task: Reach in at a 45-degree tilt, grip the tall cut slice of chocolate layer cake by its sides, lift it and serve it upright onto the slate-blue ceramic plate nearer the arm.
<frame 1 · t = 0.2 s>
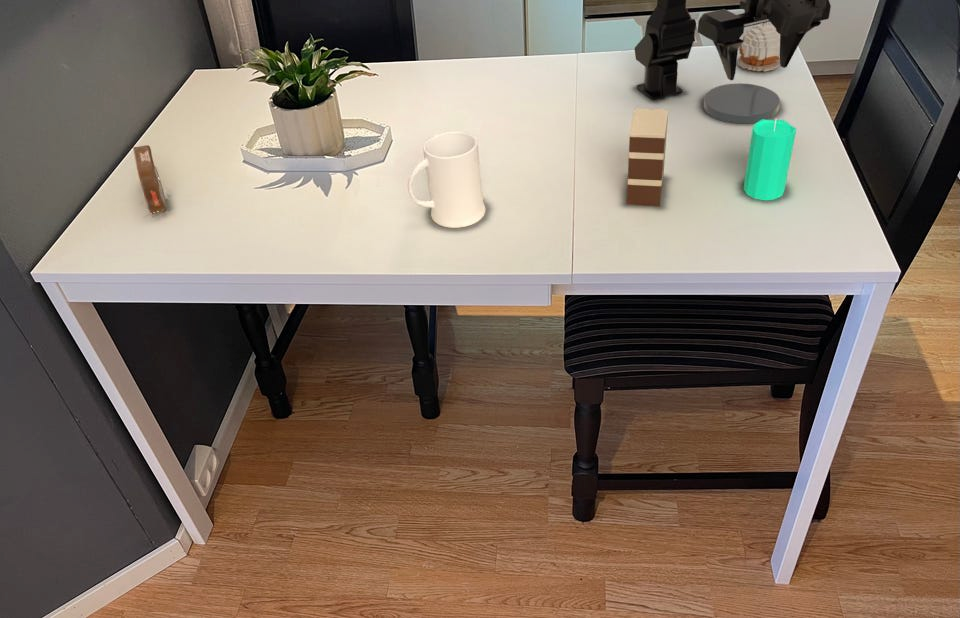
hand: (757, 73, 120), 14 cm above the table, tool pointing down, fingers open, 9 cm apart
mug: (448, 216, 123), on the table
plate: (740, 106, 142), on the table
candle: (763, 190, 121), on the table
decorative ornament: (758, 66, 155), on the table
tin: (159, 200, 134), on the table
cake slice: (645, 191, 124), on the table
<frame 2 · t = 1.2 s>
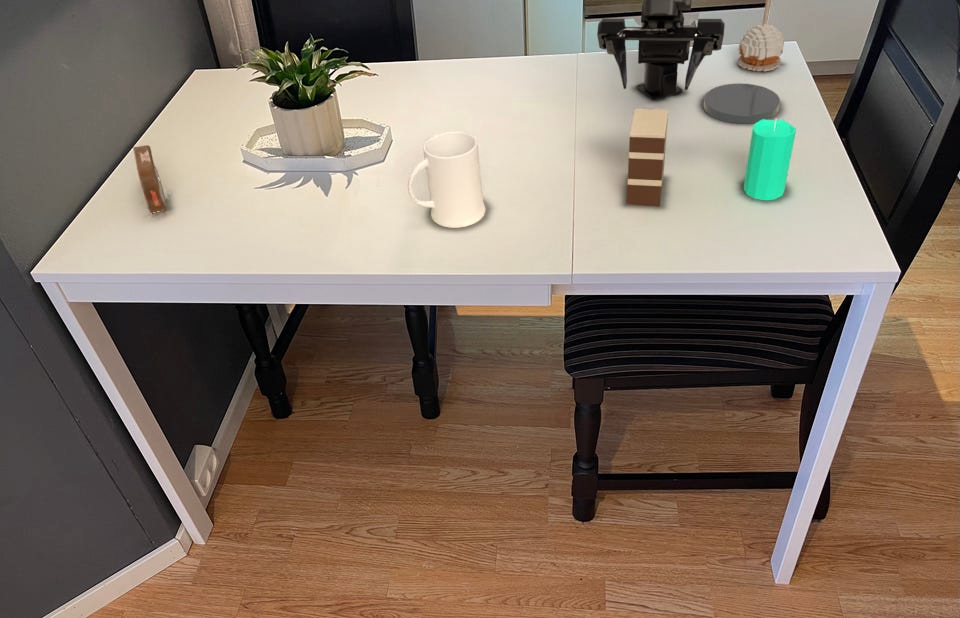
hand: (655, 88, 121), 13 cm above the table, tool tilted 45°, fingers open, 9 cm apart
nothing on the table moved.
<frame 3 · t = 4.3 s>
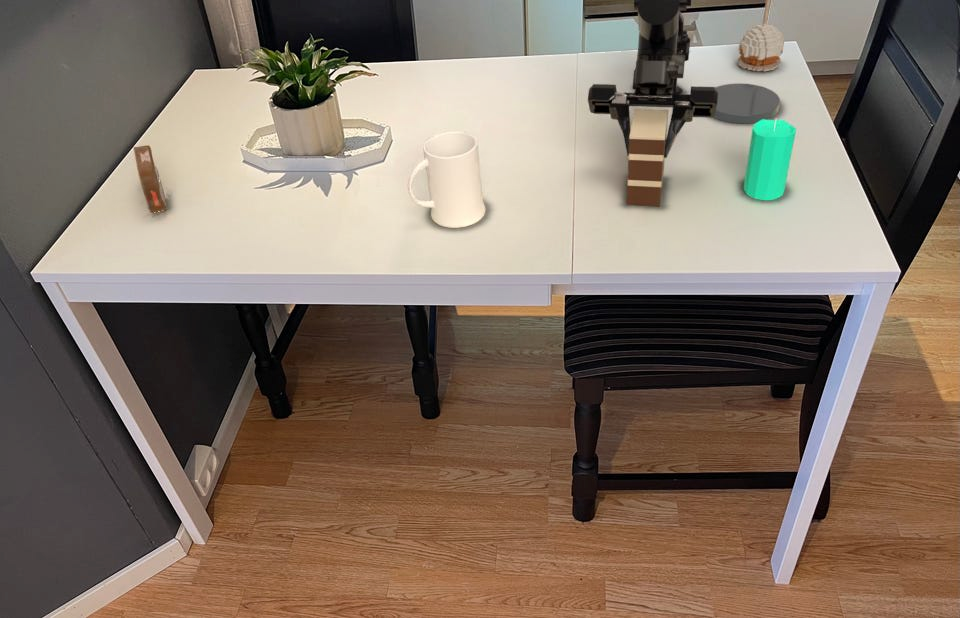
hand: (646, 156, 118), 7 cm above the table, tool tilted 45°, fingers closed on cake slice, 5 cm apart
cake slice: (645, 191, 123), on the table, touching gripper
everything else where it was.
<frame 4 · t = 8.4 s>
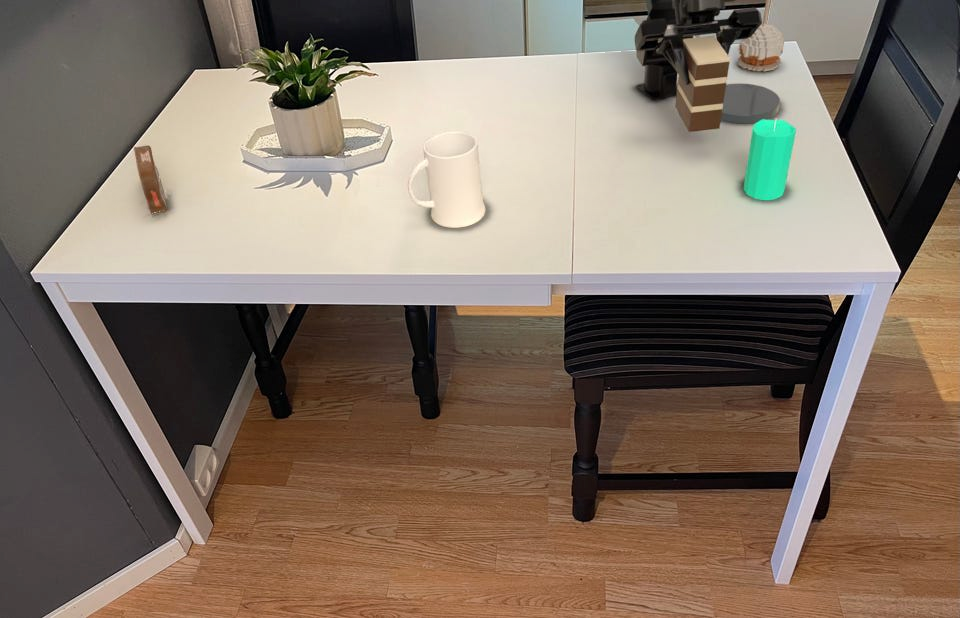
hand: (704, 82, 123), 12 cm above the table, tool tilted 45°, fingers closed on cake slice, 5 cm apart
cake slice: (696, 117, 129), point 5 cm above the table, touching gripper
everything else where it was.
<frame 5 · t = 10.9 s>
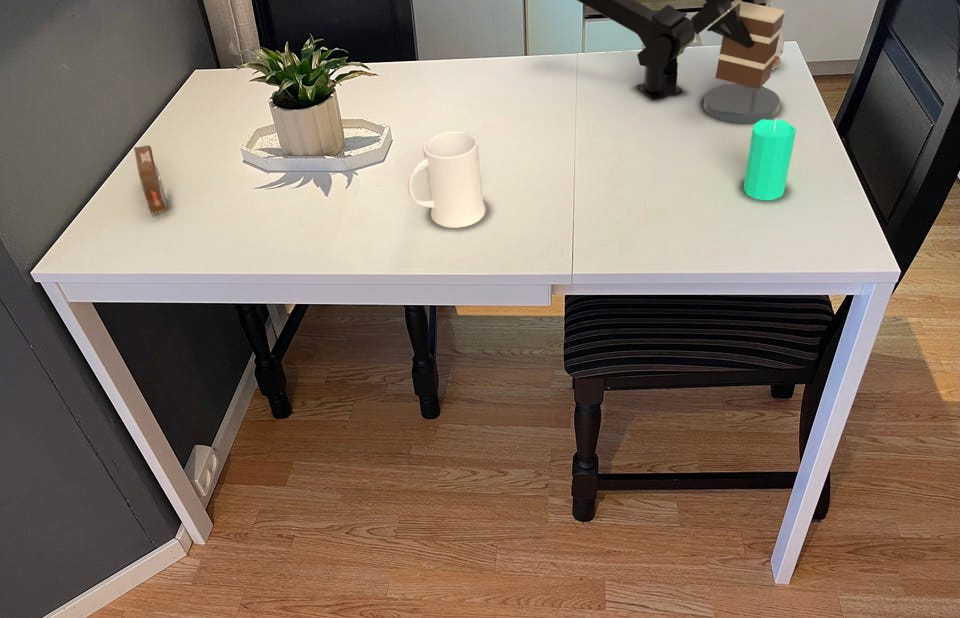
hand: (757, 40, 133), 12 cm above the table, tool tilted 45°, fingers closed on cake slice, 5 cm apart
cake slice: (742, 78, 139), point 5 cm above the table, touching gripper
everything else where it was.
when the fingers open (9 cm above the table, at t = 12.8 s): cake slice stays where it is, resting on plate.
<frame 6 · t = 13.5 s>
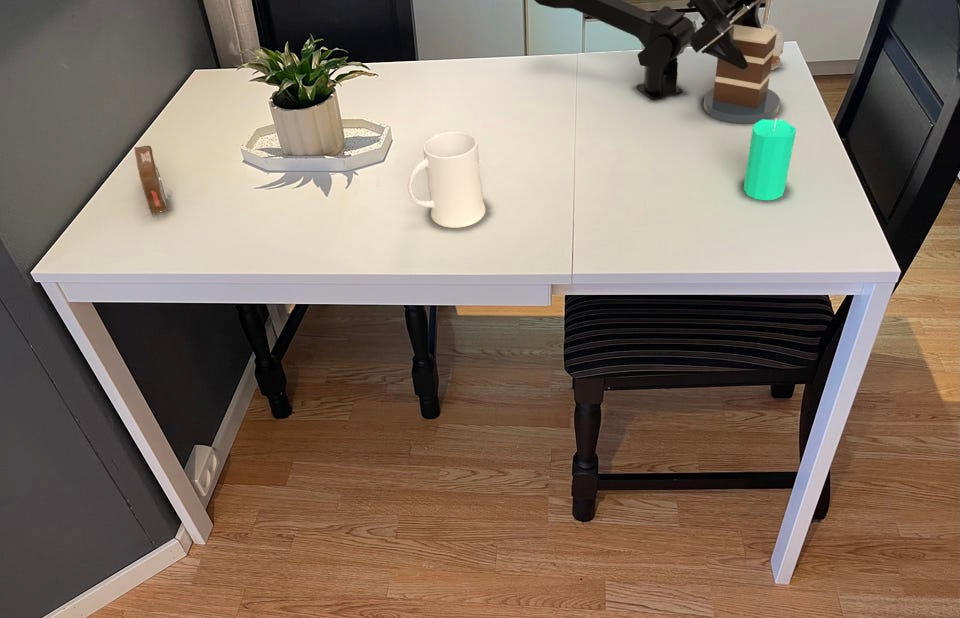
hand: (755, 57, 136), 9 cm above the table, tool tilted 45°, fingers open, 9 cm apart
cake slice: (739, 98, 142), point 2 cm above the table, touching plate
everything else where it was.
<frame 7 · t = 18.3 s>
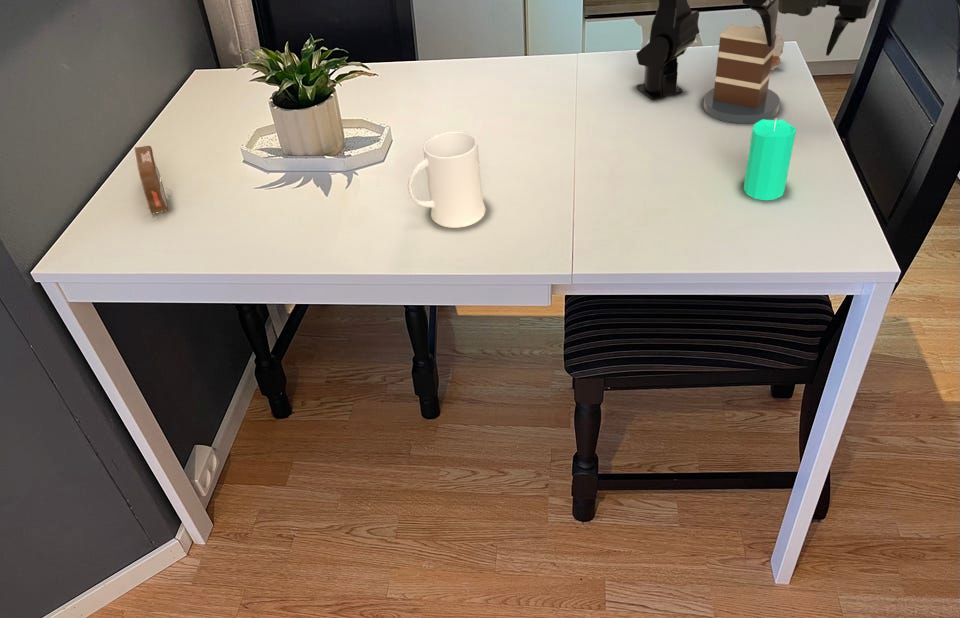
hand: (798, 50, 128), 13 cm above the table, tool pointing down, fingers open, 9 cm apart
nothing on the table moved.
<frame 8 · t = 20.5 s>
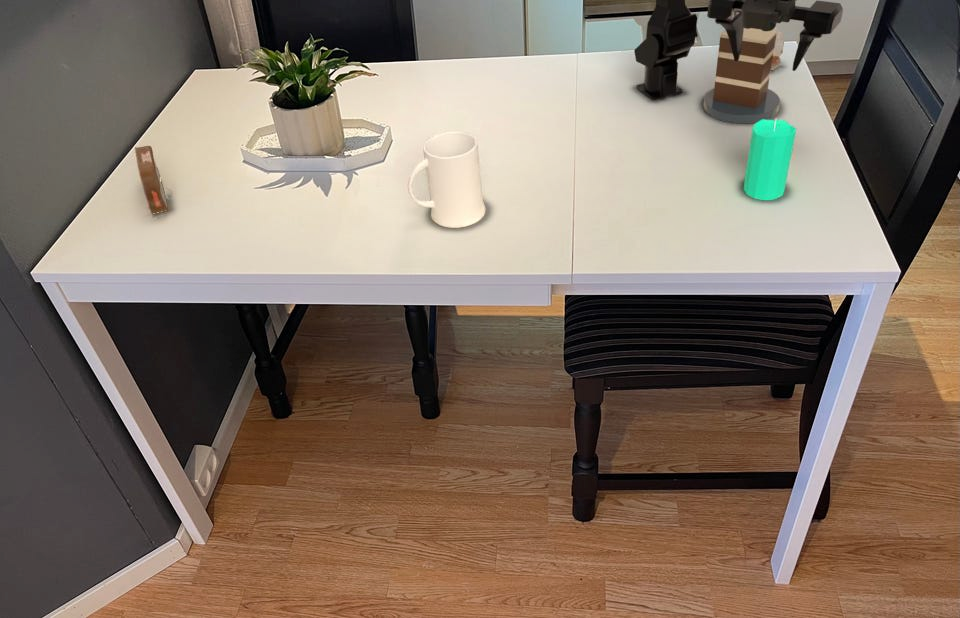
hand: (765, 65, 125), 13 cm above the table, tool pointing down, fingers open, 9 cm apart
nothing on the table moved.
at the end: cake slice inside the target area on the plate (0.4 cm from its centre), point 1.5 cm above the plate's base; cake slice tilted 0°; the gripper is holding nothing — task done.
